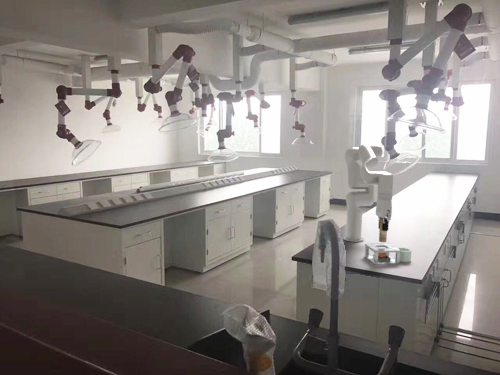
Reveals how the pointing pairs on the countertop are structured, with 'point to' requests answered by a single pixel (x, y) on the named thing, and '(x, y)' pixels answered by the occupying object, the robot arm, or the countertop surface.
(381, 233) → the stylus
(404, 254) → the holder
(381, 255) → the breaker plunger
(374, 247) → the breaker guard
